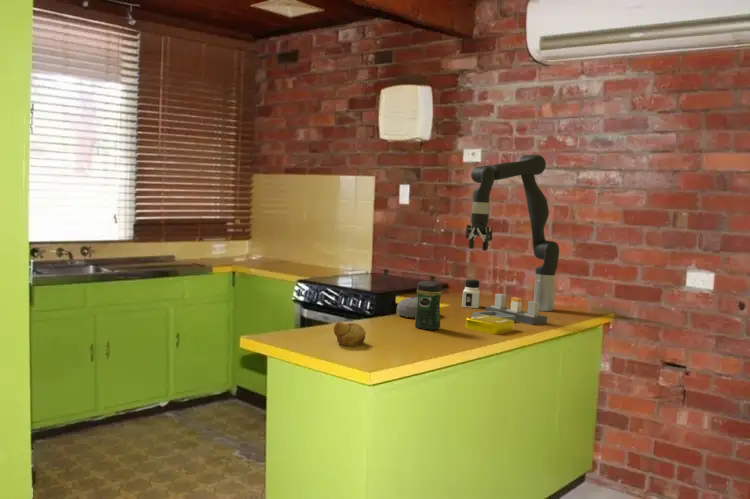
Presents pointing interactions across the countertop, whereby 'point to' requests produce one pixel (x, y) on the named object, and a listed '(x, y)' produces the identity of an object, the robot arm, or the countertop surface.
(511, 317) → the tray
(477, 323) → the element tile
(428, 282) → the coffee jar
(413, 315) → the soft grey pack
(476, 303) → the container
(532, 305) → the block
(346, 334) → the bread roll
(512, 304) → the block
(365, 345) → the countertop surface
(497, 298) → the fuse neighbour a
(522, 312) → the fuse holder
